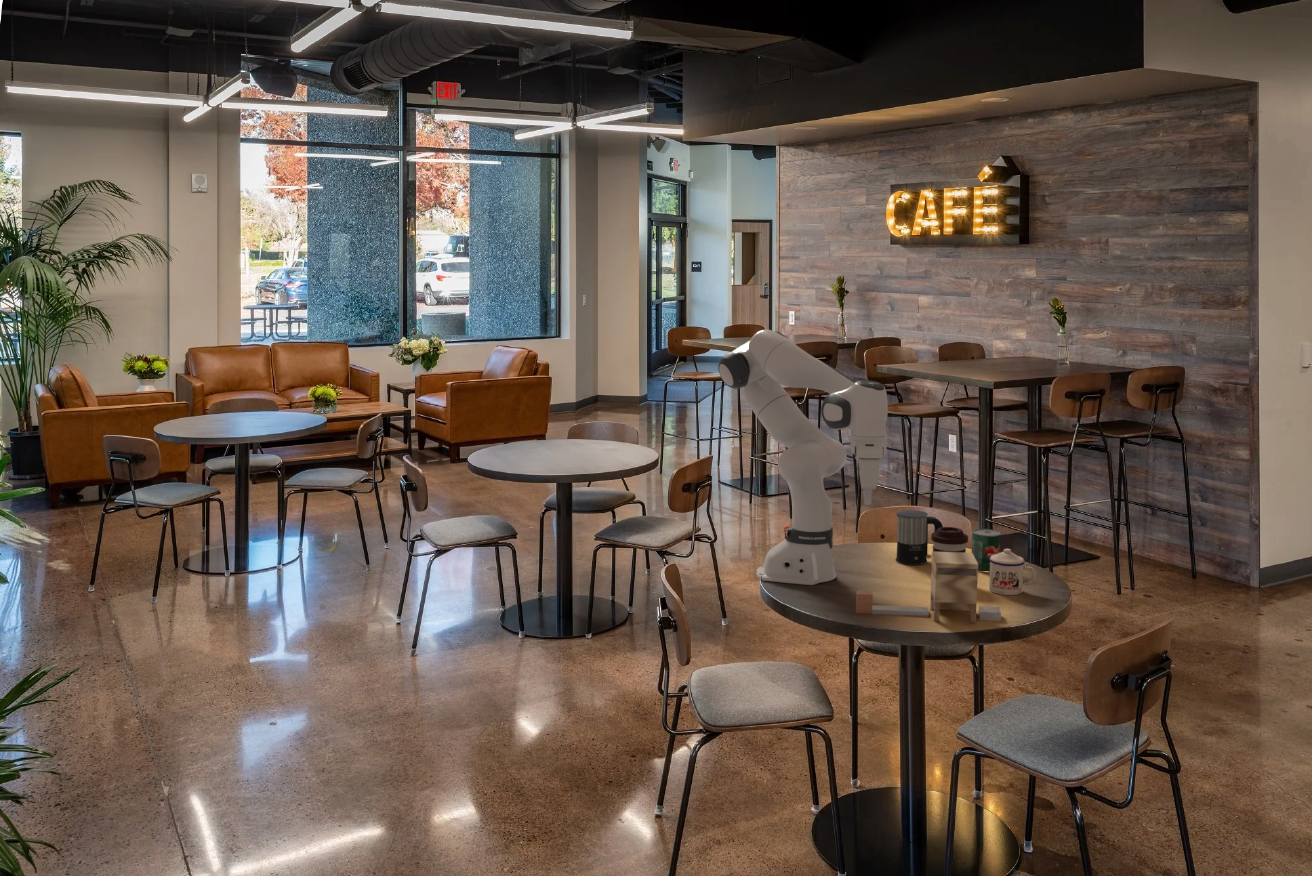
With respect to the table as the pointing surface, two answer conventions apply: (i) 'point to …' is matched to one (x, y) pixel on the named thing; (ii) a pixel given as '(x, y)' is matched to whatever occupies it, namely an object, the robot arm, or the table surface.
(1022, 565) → the teacup with lid
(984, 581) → the table surface
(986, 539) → the canned tomato
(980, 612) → the block
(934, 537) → the coffee cup
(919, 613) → the blade tool
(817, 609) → the table surface
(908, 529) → the milk frother
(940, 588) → the cabinet
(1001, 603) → the table surface
